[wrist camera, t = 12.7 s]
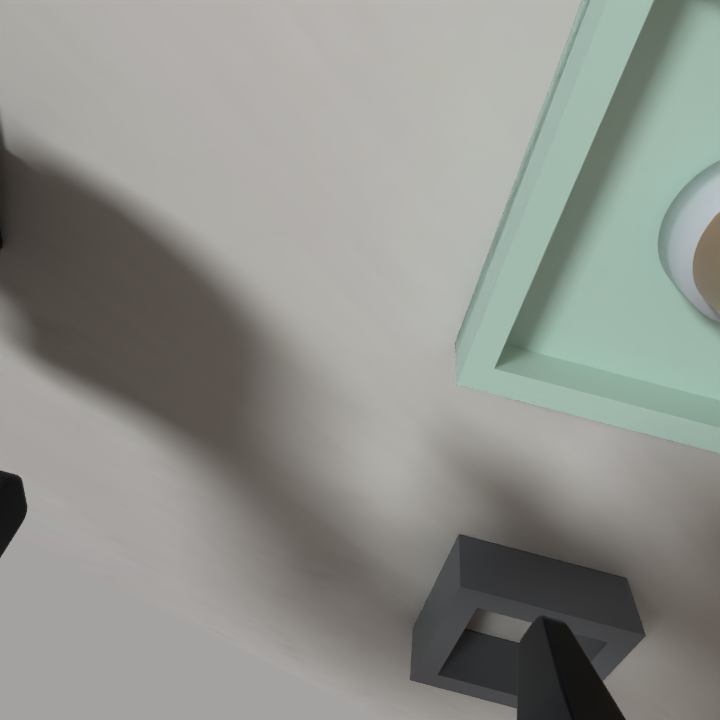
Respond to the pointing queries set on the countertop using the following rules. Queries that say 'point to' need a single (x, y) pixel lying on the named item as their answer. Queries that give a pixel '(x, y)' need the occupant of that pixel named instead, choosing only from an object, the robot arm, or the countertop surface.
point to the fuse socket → (518, 600)
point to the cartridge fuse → (695, 241)
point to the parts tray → (607, 232)
